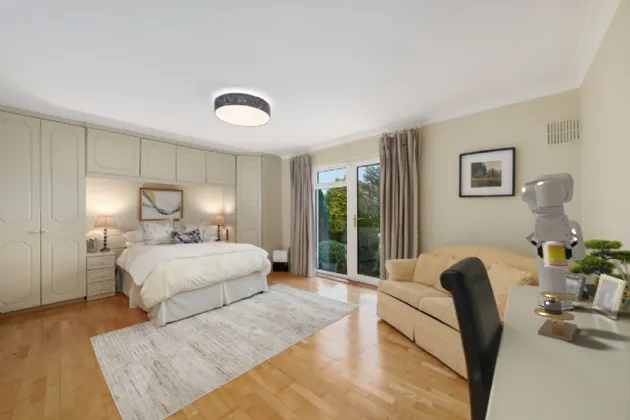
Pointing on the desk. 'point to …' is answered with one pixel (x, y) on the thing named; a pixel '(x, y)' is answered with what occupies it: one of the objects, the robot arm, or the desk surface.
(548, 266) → the supplement bottle
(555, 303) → the balance
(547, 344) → the desk surface
